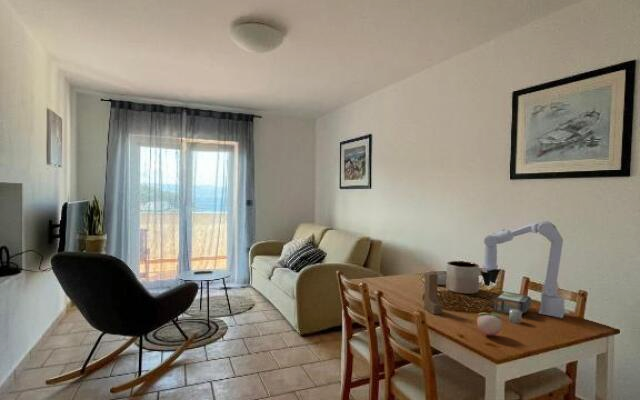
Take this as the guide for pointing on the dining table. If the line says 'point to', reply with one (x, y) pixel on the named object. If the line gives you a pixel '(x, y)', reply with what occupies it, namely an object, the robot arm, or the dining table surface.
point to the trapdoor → (524, 299)
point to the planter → (462, 277)
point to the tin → (441, 277)
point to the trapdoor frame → (506, 305)
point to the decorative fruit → (489, 323)
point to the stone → (515, 316)
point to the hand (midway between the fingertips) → (490, 284)
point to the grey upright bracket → (431, 294)
